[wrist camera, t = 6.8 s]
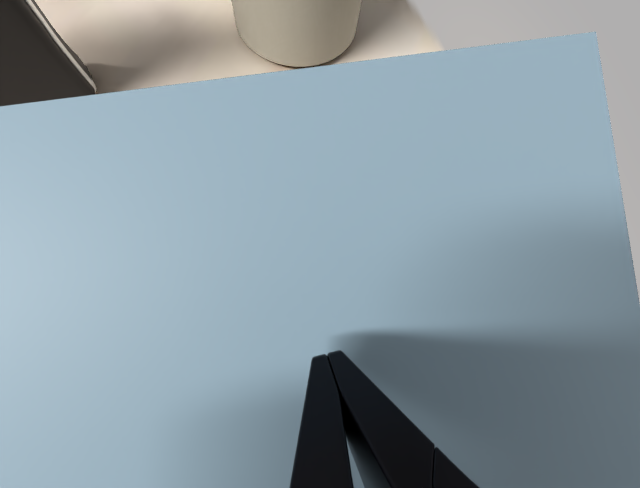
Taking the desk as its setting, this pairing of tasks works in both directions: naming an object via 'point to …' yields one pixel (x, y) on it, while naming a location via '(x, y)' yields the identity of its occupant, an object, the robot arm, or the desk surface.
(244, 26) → the travel mug
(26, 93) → the battery charger
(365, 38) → the desk surface
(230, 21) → the desk surface
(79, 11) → the desk surface
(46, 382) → the panel
